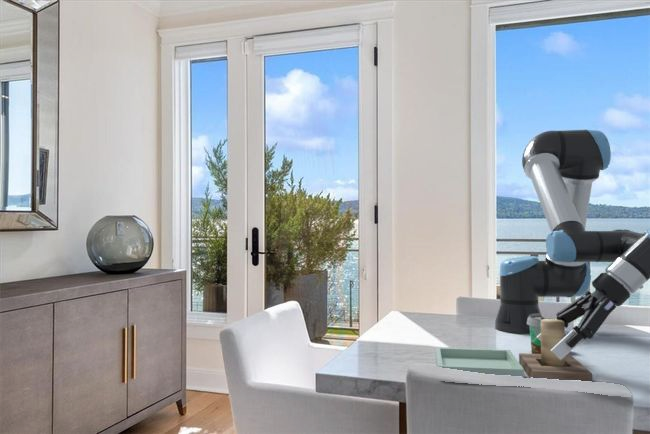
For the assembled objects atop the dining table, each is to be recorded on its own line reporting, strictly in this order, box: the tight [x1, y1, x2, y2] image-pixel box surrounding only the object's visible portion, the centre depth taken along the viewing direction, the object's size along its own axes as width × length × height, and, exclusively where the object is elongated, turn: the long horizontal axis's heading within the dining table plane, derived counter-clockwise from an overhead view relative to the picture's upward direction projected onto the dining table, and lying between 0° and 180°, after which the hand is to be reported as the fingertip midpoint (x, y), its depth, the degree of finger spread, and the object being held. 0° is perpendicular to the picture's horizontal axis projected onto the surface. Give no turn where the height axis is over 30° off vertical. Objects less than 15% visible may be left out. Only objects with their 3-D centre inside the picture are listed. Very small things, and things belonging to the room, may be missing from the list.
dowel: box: [541, 318, 566, 367], centre depth 121 cm, size 5×5×12 cm
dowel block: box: [518, 352, 594, 382], centre depth 121 cm, size 16×12×2 cm
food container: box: [527, 313, 548, 354], centre depth 138 cm, size 12×6×10 cm, turn 5°
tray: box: [435, 346, 525, 378], centre depth 124 cm, size 18×18×3 cm
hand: (547, 348), depth 121 cm, fingers open, 13 cm apart
